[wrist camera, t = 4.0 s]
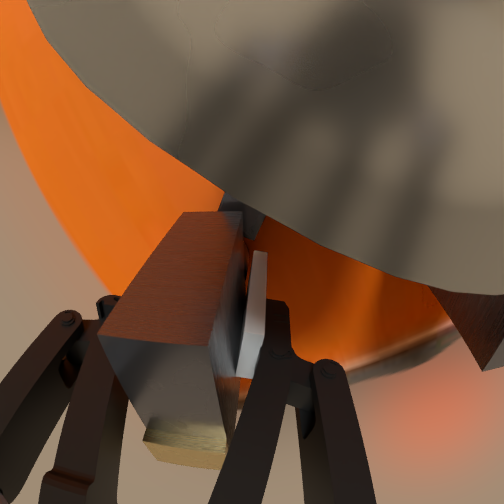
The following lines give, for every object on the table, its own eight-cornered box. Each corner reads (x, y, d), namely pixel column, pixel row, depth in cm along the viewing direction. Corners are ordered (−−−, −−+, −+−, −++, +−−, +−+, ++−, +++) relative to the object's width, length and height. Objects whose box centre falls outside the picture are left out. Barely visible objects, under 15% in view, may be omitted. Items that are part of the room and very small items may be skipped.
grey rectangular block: (388, 236, 17) (487, 385, 6) (398, 186, 15) (536, 307, 5) (469, 244, 16) (568, 355, 6) (481, 202, 15) (600, 298, 5)
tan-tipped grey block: (191, 200, 16) (83, 349, 6) (247, 199, 16) (207, 366, 6) (203, 300, 20) (155, 460, 9) (250, 302, 19) (232, 471, 9)
